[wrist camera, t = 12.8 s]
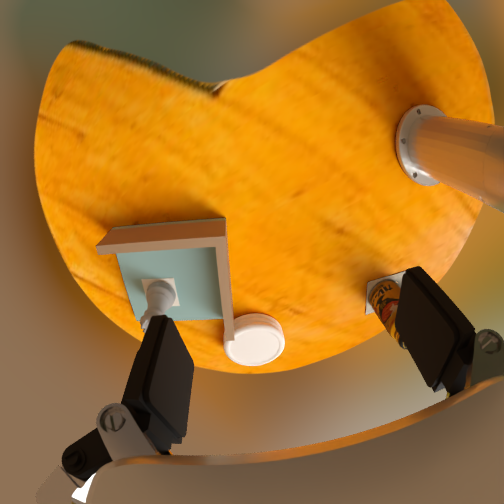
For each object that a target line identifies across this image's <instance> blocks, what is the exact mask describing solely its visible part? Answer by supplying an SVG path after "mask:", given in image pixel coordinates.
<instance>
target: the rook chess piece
mask: <svg viewBox="0 0 504 504" xmlns="http://www.w3.org/2000/svg"><path fill="white" fill-rule="evenodd" d="M175 299H176V293H175V291H174V289H173V288H172V287H171V286H170V285H169V284H167V283H165V282H159V281H158V282H153V283H152V284H150V285H149V286H148V289H147V292H146V300H147V303H148V307H147V310H145V312H144V315H143V316H142V317H141V319H140V324H141V329H144V330H143V332H144V333H145V332H146V330H147V327H148V324H149V321H150V319H151V317H152V316H156V315H164V313H165V311H166V310H168V309H169V308H171V307H172V305H173V303H174V301H175Z"/></svg>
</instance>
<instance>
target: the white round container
mask: <svg viewBox="0 0 504 504" xmlns="http://www.w3.org/2000/svg"><path fill="white" fill-rule="evenodd" d="M234 338H235V341H226V336H225V331H224V350H225V353H226V355H227V356H228V357H229V358H230V359H231V360H232V361H234V362H236V363H238V364H241V365H246V366H257V365H262V364H266V363H268V362H270V361H272V360H274V359H275V358H277V357H278V356H279V355H280V354H281V352H282V351H283V349H284V345H285V339H284V336H283V332H282V328H281V326H280V324H279V323H278V321H277V320H275V319H274V318H273V317H271V316H268V315H265V314H260V313H251V314H246V315H242V316H240V317H237V318H236V319H234Z"/></svg>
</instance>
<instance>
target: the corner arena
mask: <svg viewBox="0 0 504 504" xmlns="http://www.w3.org/2000/svg"><path fill="white" fill-rule="evenodd" d="M96 248H97V252H98V255H103V254H116V255H117V259H118V263H119V266H120V270H121V273H122V277H123V280H124V283H125V287H126V290H127V293H128V296H129V299H130V302H131V306H132V308H133V311H134V314H135V317H136V320H137V321H140V319H141V317H142V316H143V315H144V312H145V310H147V307H148V303H147V300H146V292H147V289H148V286H149V285H150V284H152V283H153V282H158V281H159V282H165V283H167V284H169V285H170V286H171V287H172V288H173V289H174V291H175V293H176V299H175V301H174V303H173V305H172V307H171V308H169V309H168V310H166V311H165V313H164V314H165V315H167V316H168V318H172V319H173V321H178V320H206V319H223V320H224V328H225V336H226V341H235V338H234V317H233V304H232V293H231V281H230V269H229V256H228V243H227V229H226V218H215V219H201V220H188V221H175V222H163V223H152V224H141V225H131V226H121V227H113V228H112V229H111V230H110V231H109V232H108V233H107V234H106V235H105V236H104V238H103V239H102V240H101V241H100V242H99V243H98V244H97V245H96Z"/></svg>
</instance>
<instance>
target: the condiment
mask: <svg viewBox="0 0 504 504" xmlns="http://www.w3.org/2000/svg"><path fill="white" fill-rule="evenodd" d="M405 272H406V271H404V272H401V273H398V274H395V275H391V276H387V277H383V278H380V279H376V280H373V281H370V282H368V283H367V298H366V315H367V314H370V313H373V312H375V313H376V314H377V316H378V318H379V319H380V321H381V322H382V323H383V325H384V326H385V328H386V330H387V331H388V333H389V334H390V336H391V337H392V338H394V339H396V341H397V342H398V343H399V345H400V346H401V347H402V348H403V349H407V347H406V346H405V344H404V342H403V341H402V339H401V337H400V335H399V334H398V332H397V330H396V328H395V317H396V312H397V307H398V301H399V295H400V289H401V283H402V276H403V274H404V273H405ZM396 282H398V283H396Z"/></svg>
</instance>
